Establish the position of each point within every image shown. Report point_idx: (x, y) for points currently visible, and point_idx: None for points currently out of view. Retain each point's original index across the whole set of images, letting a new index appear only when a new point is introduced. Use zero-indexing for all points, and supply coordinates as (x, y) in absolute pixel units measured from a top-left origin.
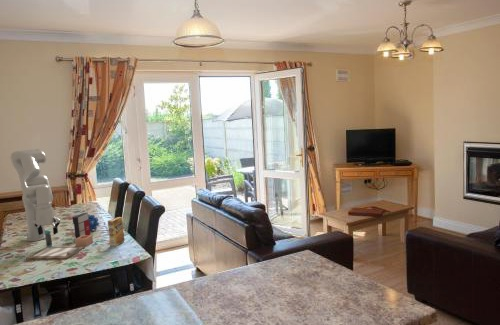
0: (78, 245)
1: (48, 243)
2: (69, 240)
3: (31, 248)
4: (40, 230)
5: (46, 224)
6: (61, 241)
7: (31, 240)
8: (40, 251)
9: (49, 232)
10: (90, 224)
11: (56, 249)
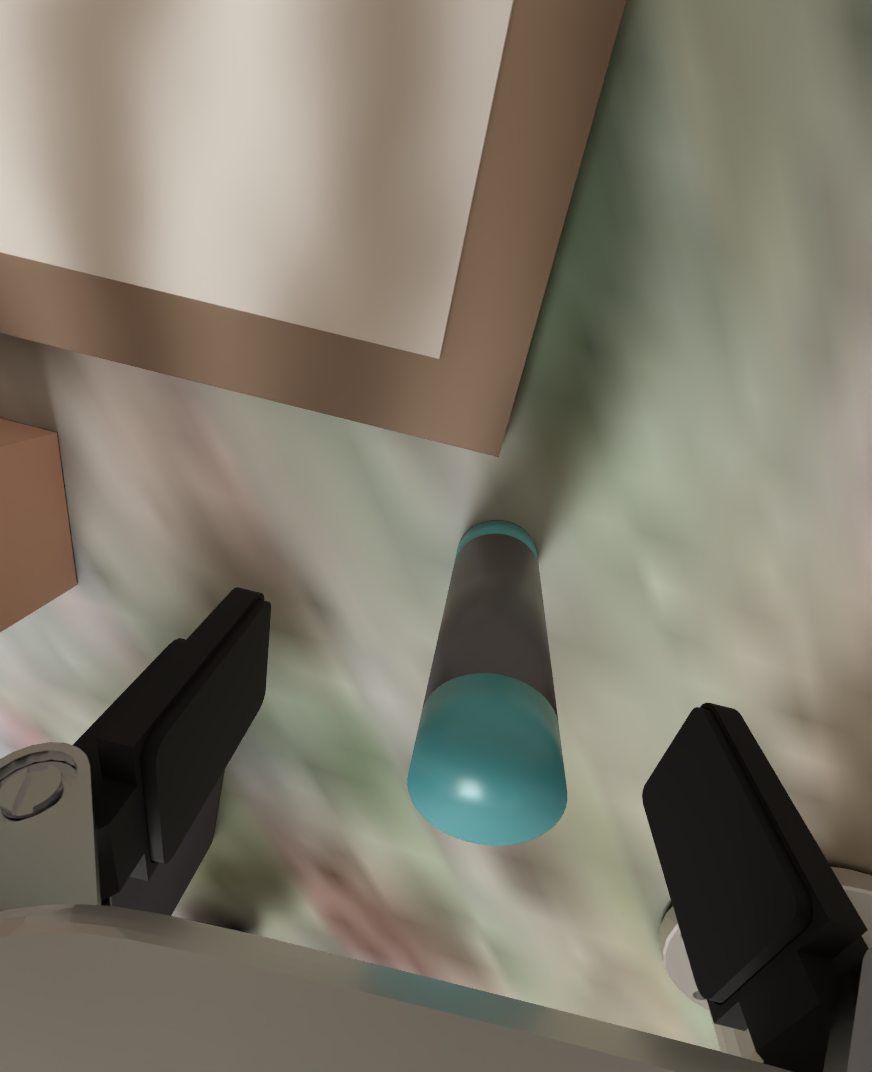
0: (3, 425)
1: (488, 551)
2: (316, 731)
3: (794, 565)
4: (723, 847)
5: (290, 1015)
6: (409, 730)
7: (860, 881)
8: (529, 180)
9: (424, 716)
10: None
11: (217, 215)
